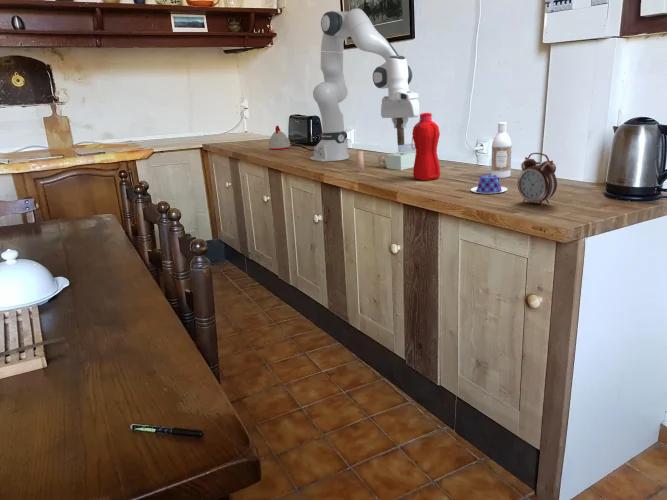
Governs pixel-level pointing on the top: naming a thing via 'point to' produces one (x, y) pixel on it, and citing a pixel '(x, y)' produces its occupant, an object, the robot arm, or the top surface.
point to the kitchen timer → (279, 140)
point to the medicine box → (407, 148)
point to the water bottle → (426, 148)
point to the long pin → (400, 131)
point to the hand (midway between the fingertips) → (400, 128)
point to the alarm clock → (537, 180)
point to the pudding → (489, 185)
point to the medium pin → (360, 161)
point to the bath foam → (501, 153)
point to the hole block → (400, 160)
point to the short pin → (381, 161)
